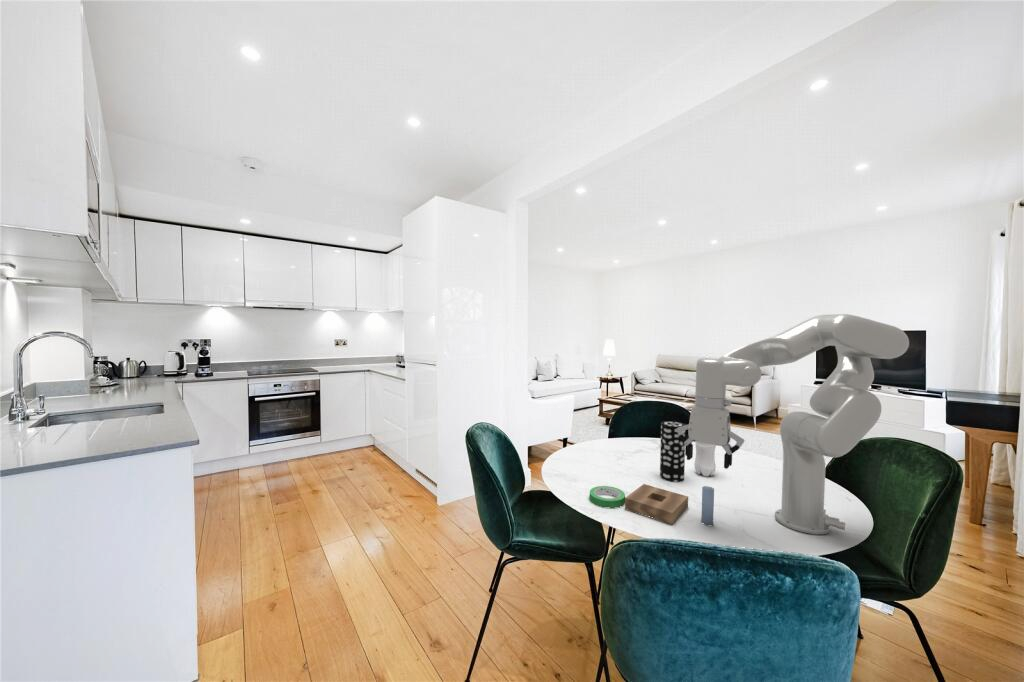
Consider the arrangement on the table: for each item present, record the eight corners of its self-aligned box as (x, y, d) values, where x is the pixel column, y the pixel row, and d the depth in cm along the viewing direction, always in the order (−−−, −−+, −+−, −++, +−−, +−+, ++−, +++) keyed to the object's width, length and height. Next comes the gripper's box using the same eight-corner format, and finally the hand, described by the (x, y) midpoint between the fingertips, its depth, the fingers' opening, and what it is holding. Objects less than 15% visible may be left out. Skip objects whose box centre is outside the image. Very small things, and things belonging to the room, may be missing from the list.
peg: (714, 522, 108) (715, 488, 108) (711, 526, 106) (712, 491, 105) (703, 519, 110) (703, 485, 110) (700, 523, 108) (700, 488, 107)
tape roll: (584, 503, 121) (584, 494, 120) (597, 490, 130) (597, 482, 130) (618, 512, 114) (618, 503, 114) (629, 498, 124) (629, 490, 123)
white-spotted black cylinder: (679, 473, 144) (680, 421, 144) (687, 482, 136) (688, 427, 135) (657, 472, 145) (658, 420, 144) (663, 481, 137) (664, 426, 136)
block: (688, 507, 117) (688, 496, 117) (672, 525, 107) (672, 512, 106) (643, 494, 126) (643, 483, 126) (624, 509, 116) (625, 497, 116)
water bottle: (719, 477, 141) (720, 410, 140) (699, 477, 141) (701, 410, 140) (709, 470, 148) (711, 406, 147) (690, 470, 148) (692, 406, 147)
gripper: (748, 405, 104) (745, 467, 104) (682, 396, 115) (680, 452, 116) (742, 409, 98) (739, 475, 99) (673, 400, 110) (671, 458, 110)
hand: (707, 462), depth 107 cm, fingers open, 9 cm apart
